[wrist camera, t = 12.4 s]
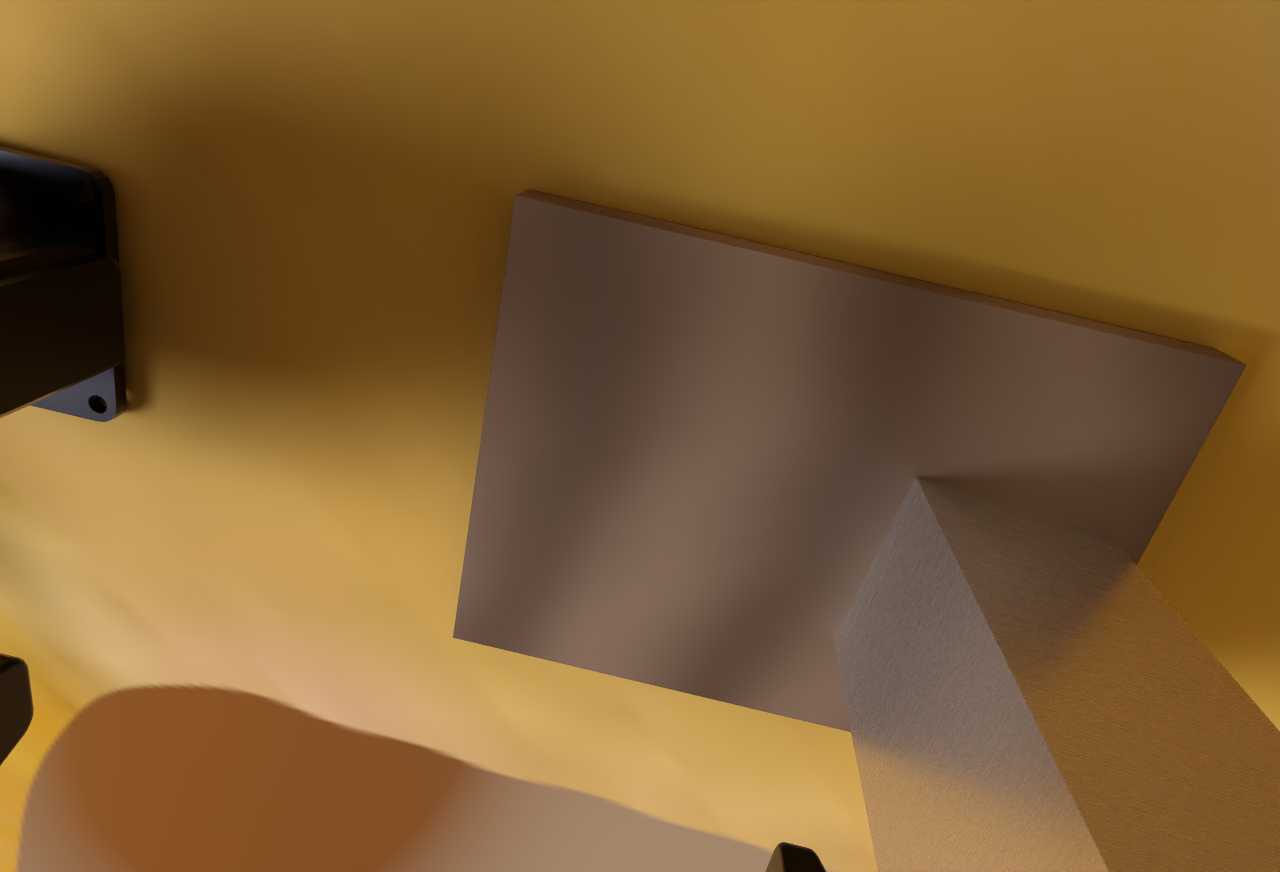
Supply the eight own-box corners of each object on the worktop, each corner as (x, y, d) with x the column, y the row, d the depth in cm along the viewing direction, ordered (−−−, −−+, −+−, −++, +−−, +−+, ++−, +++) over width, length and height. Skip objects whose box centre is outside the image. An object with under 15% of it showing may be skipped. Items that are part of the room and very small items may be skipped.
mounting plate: (465, 611, 23) (453, 637, 22) (528, 189, 18) (515, 195, 17) (1008, 740, 23) (1022, 772, 22) (1215, 348, 18) (1246, 365, 17)
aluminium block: (833, 639, 21) (972, 1363, 9) (915, 476, 19) (1235, 1130, 7) (1014, 697, 21) (1387, 1486, 9) (1115, 540, 19) (1763, 1291, 7)
